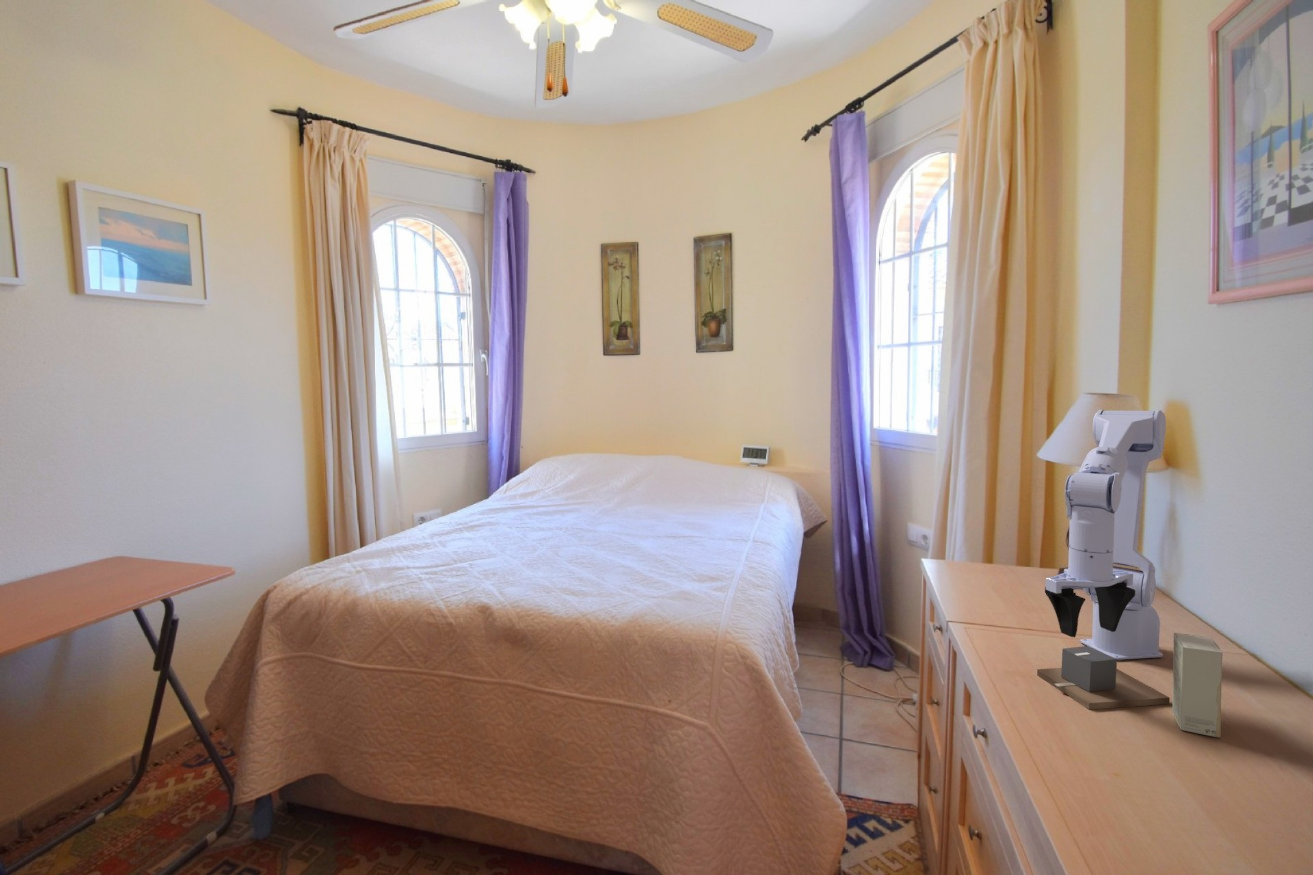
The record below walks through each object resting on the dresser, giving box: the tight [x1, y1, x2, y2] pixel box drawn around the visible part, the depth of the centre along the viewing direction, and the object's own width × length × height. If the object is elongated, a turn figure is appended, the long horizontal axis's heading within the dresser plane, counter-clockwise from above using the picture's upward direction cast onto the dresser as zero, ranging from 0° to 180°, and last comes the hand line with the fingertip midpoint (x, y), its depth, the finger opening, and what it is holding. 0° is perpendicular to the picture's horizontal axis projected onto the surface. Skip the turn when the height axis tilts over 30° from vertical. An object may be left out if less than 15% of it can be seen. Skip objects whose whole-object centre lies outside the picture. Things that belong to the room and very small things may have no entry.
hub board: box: [1036, 667, 1171, 710], centre depth 96 cm, size 14×11×4 cm
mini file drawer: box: [1061, 645, 1118, 692], centre depth 95 cm, size 5×5×5 cm
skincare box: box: [1172, 632, 1224, 739], centre depth 85 cm, size 6×4×12 cm
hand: (1088, 631), depth 95 cm, fingers open, 7 cm apart
